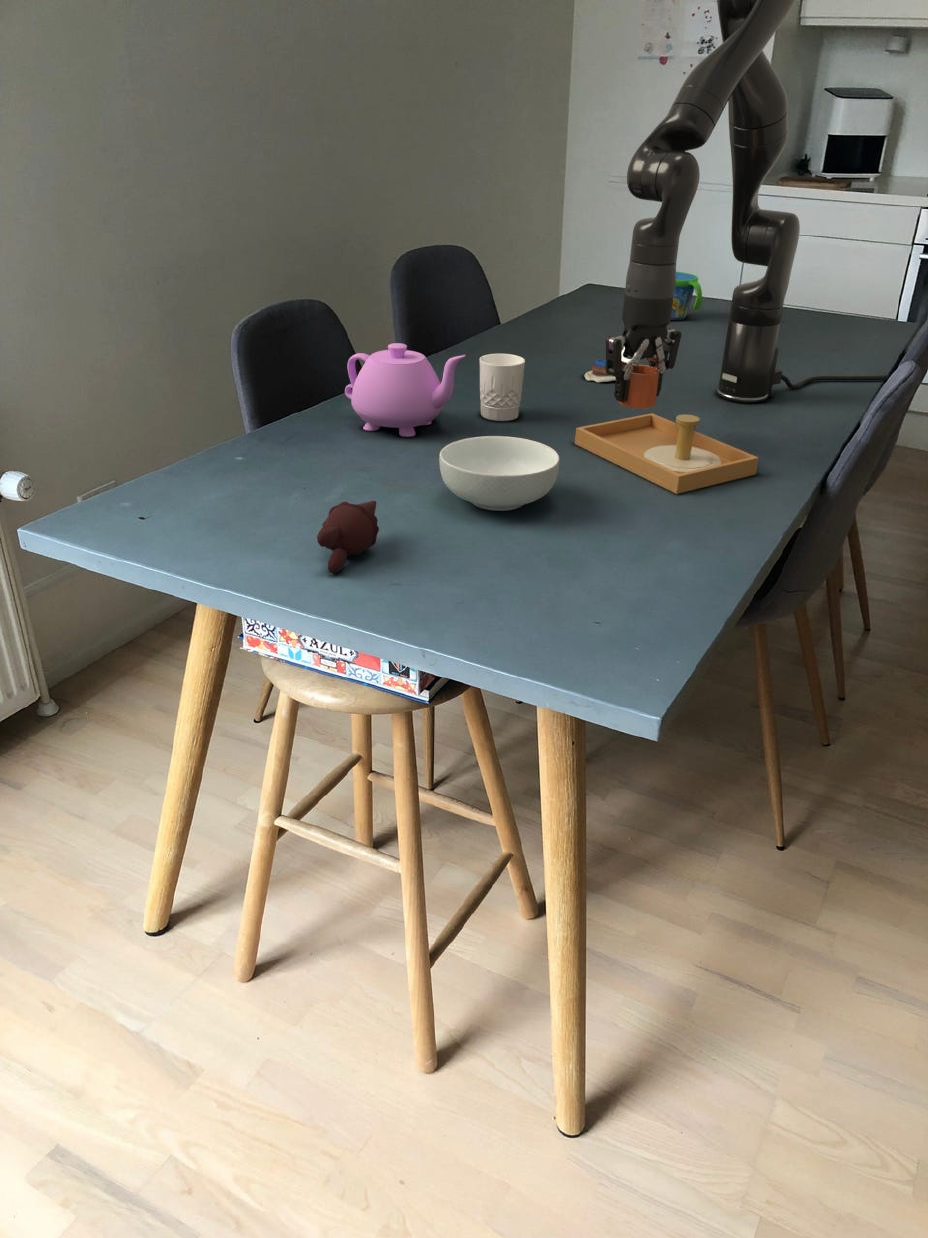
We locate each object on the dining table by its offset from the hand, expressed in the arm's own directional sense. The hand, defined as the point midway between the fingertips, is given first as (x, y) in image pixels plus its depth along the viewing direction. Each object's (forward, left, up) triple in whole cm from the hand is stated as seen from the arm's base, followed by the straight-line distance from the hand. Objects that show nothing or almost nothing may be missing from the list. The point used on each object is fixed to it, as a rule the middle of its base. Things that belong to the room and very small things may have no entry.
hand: (637, 397), depth 163 cm
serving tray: (0, +7, -8) cm, 11 cm away
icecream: (+59, +14, -8) cm, 61 cm away
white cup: (+11, -23, -8) cm, 27 cm away
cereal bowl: (+33, +9, -8) cm, 35 cm away
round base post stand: (0, +12, -7) cm, 14 cm away
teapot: (+29, -26, -8) cm, 40 cm away
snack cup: (-70, -67, -8) cm, 97 cm away
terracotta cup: (0, 0, -1) cm, 1 cm away
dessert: (-21, -33, -8) cm, 40 cm away
